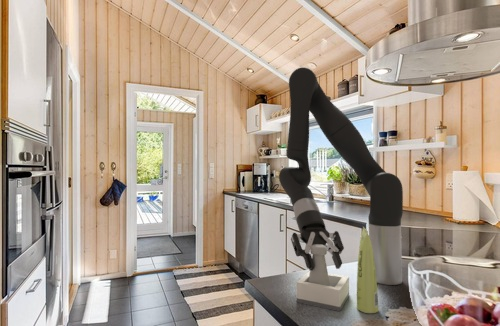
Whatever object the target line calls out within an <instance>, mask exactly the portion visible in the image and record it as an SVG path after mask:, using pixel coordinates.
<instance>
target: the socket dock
mask: <svg viewBox="0 0 500 326" xmlns="http://www.w3.org/2000/svg"><path fill="white" fill-rule="evenodd" d="M309 275H310V270H309V271H307V272H306V273H305V274H304V275H303V276H301V278H300V279H298V280H297V281H296V291H295V292H296V303H300V304H305V305H309V306H314V307H318V308H324V309H328V310H333V311H337V312H341V310H342V309H343V307H344V305H345V303H346V302H347V300H348V298H349V296H350V277H349V275H347V276H346V275H342V274H335V273H329V272H328V277H329V282H330V286H327V285H321V284H315V283H309V282H308V281H309Z"/></svg>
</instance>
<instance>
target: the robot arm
mask: <svg viewBox="0 0 500 326" xmlns="http://www.w3.org/2000/svg"><path fill="white" fill-rule="evenodd" d="M288 88H289V89H288V90H289V100H290V103H289V104H290V111H289V115H290V116H289V126H288V134H287V135H288V137H287V144H286V145H287V147H286V157H287V158H288V159H289V160H292V161H295V162H296V163H297V165H298V166H297V167H296V166H285V167H282V169H281V170H280V172H279V175H278V180H279V184H280V186H281V188H282V189H283V190H284V192H285V193H286V194H287V196H288V197H289V199H290V201H291V205H292V208H293V214H294V218H295V222H296V224H297V227H298V230H299V233H296V232H292V235H291V237H290V241H291V244H292V247H293V251H294V253H295V255H296V257H302V258H303V260H304V263H305V266H306V268H307V269H308V270H309V271H311V270H313V269H314V263H313V260H312V254H311V251H310V249H311V246H312V245H314V244H321V245H324V246H326V248H327V253H329V254H330V255H331V258H332V261H333V264H334V266H335V269H336V270H340V268H342V265H343V260H342V259H341V256H340V255H341V254H342V253H343V251H344V249H345V247H344V244H343V242H342V239H341V235H340V233H339V231H337V230H335V231H334V232H329V231H328V230H327V228H326V224H325V222H324V218H323V217H322V214H321V211H320V208H319V206H318V204H317V202H316V200H315V198H314V194H313V192H312V190H311V189H310V188H309V187H308V186H310V184H311V182H312V175H311V169H310V163H309V156H308V154H309V144H310V143H309V142H310V113H311V115H312V116H313V118H314V120H315V122H316V123H317V125H318V126H319V128H320V130H321V132H322V133H323V134H324V136H325V137H326V139H327V140H328V142H329V143H330V144H331V146H332V147H333V148H334V149H335V152H337V153H338V154H339V156H340V157H341V158H342V159H343V160H344V161H345V162H346V163H347V164H348V166H349V167H351V169H352V170H353V172H354V173H356V175H357V178H359V180H360V182H361V183H362V185H363V188H365V191H366V192H367V194H368V195H369V202H370V203H369V214H368V215H367V216H368V235H369V237H370V240H371V244H372V249H373V255H374V261H375V269H376V279H377V284H381V285H387V286H392V285H393V286H395V285H396V286H397V285H400V284H402V283H403V271H402V270H403V264H402V263H403V262H402V260H403V256H402V226H401V223H402V216H403V208H404V190H403V185H402V181H401V180H400V178H399V177H398V176H396V175H395V174H393V173H391V172H386V171H385V170H384V169H383V167H382V166H380V165H379V163H378V162H377V160H375V159H374V158H373V155H372V154H371V152H370V150H369V148H368V146H367V144H366V142H365V140H364V138H363V136H362V135H361V133H360V131H359V130H358V129H357V128H356V126H355V125H354V124H353V122H352V121H351V120H350V119H349V118H348V117H347V115H346V114H345V113H344V112H342V110H341V109H339V108H338V107H337V106H336V105H335V104H334V103H333V102H332V101H331V100H330V99H329V97H328V96H327V95H326V93H325V92H324V90H323V89H322V87H321V85H320V83H319V81H318V78H317V76H316V74H315V72H314V71H313V70H312V69H311V68H309V67H304V66H301V67H298V68H296V69H294V70H293V71H292V73H291V74H290V76H289V80H288ZM300 241H302V242H303V243H304V244H305V247H304V249H303V248H302V246H301V245H302V244H301V242H300Z"/></svg>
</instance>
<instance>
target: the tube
mask: <svg viewBox="0 0 500 326" xmlns="http://www.w3.org/2000/svg"><path fill="white" fill-rule="evenodd" d="M361 231H362V232H361V234H360V240H359V249H358V260H357V270H356V271H357V272H356V274H357V275H356V308H357V310H359V311H360V312H362V313H365V314H375V313H378V312H379V295H378V283H377V279H376V269H375V261H374V255H373V249H372V244H371V240H370V237H369V230H367V229H366V228H365V227H364V226H362V230H361Z"/></svg>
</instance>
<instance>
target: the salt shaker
mask: <svg viewBox="0 0 500 326" xmlns="http://www.w3.org/2000/svg"><path fill="white" fill-rule="evenodd" d="M327 253H328V251H327V248H326V246H324V245H321V244H314V245H312V246H311V248H310V254H311V257H312V260H313V263H314V269H313V270H311V271H310V270H309V271H310V275H309V281H308V282H309V283H315V284H321V285H327V286H330V282H329V277H328V273H329V272H328V268H327V261H326V257H325V255H327Z"/></svg>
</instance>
